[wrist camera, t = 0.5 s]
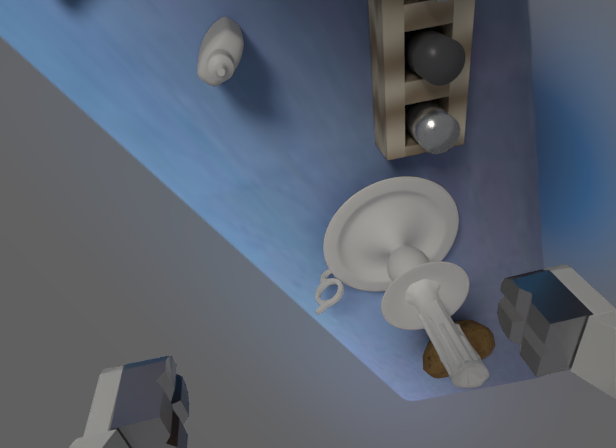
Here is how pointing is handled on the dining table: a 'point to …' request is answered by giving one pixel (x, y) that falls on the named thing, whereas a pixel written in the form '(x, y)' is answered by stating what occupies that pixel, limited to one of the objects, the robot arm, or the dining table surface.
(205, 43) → the eye dropper bottle
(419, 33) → the black knob middle
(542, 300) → the robot arm
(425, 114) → the steel knob
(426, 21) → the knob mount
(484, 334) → the potato
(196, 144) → the dining table surface
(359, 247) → the candlestick
